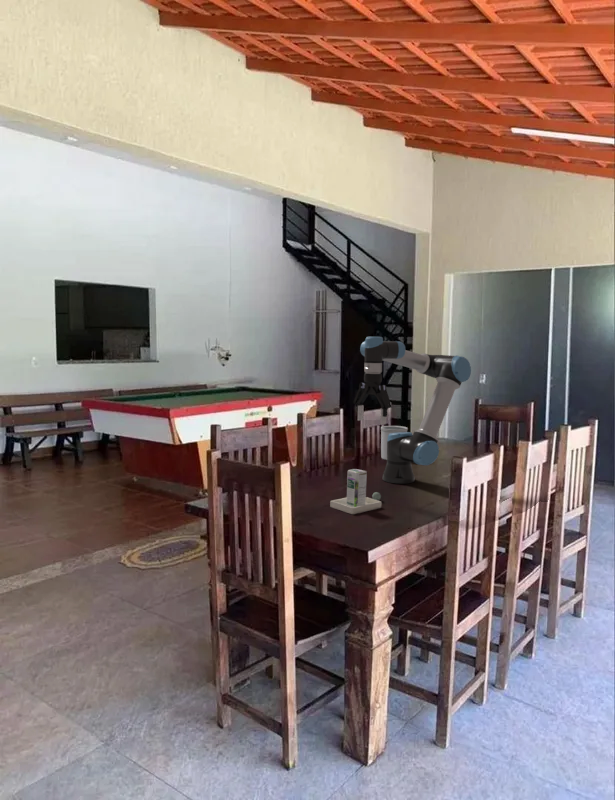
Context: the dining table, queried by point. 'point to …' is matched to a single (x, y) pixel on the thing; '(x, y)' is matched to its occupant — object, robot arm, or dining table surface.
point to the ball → (376, 496)
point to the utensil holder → (384, 437)
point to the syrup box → (356, 487)
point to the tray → (342, 506)
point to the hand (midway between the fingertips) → (371, 422)
